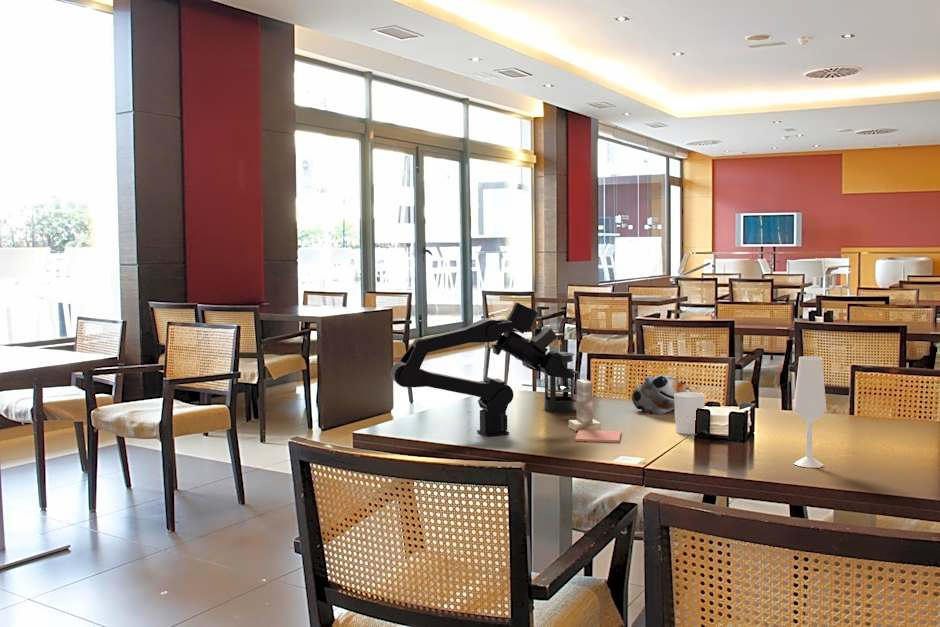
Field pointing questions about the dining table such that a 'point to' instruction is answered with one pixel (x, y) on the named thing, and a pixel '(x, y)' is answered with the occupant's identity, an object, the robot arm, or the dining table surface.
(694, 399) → the white cup
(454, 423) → the dining table surface
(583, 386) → the table number stand
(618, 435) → the terracotta mat
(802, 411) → the champagne flute
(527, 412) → the dining table surface
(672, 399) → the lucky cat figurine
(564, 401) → the french press
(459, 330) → the robot arm
